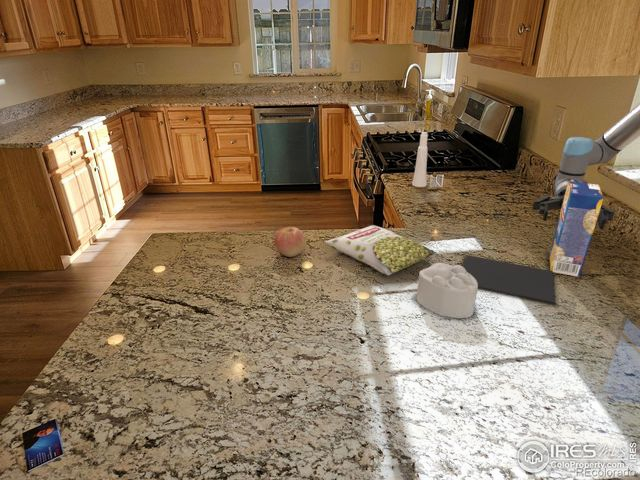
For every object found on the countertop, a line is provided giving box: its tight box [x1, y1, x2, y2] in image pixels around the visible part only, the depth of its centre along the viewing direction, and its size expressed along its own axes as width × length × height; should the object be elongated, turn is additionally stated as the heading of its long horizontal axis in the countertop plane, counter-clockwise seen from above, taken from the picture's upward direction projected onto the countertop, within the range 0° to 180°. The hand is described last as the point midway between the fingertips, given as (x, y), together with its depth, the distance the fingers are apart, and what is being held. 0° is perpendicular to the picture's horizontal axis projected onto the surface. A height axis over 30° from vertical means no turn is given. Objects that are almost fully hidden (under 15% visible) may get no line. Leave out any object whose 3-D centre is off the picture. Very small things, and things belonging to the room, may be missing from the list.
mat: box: [462, 254, 555, 305], centre depth 111 cm, size 22×16×1 cm
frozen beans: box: [324, 224, 437, 276], centre depth 121 cm, size 21×6×25 cm
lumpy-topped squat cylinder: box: [416, 262, 479, 319], centre depth 99 cm, size 10×13×9 cm
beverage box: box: [549, 181, 604, 278], centre depth 112 cm, size 7×11×22 cm, turn 155°
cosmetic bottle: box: [411, 131, 429, 188], centre depth 174 cm, size 6×6×22 cm
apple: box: [273, 226, 306, 258], centre depth 122 cm, size 9×9×8 cm
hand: (573, 220), depth 114 cm, fingers open, 13 cm apart
